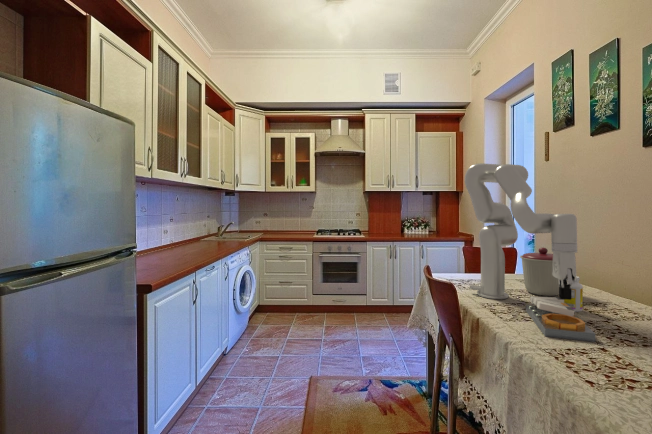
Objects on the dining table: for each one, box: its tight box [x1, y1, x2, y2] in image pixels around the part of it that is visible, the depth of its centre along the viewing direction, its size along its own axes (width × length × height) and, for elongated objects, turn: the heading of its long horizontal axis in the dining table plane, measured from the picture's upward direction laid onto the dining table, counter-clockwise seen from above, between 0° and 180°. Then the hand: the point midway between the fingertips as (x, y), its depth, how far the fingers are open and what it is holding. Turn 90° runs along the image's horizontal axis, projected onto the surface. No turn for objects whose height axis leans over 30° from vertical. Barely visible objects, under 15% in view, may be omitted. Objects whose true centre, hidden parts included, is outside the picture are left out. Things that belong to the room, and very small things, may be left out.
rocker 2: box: [533, 296, 569, 307], centre depth 116 cm, size 10×3×2 cm, turn 70°
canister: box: [519, 247, 559, 297], centre depth 150 cm, size 18×18×21 cm
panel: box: [525, 304, 596, 343], centre depth 110 cm, size 13×26×4 cm, turn 160°
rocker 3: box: [536, 301, 576, 317], centre depth 112 cm, size 10×3×2 cm, turn 70°
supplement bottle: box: [564, 275, 584, 313], centre depth 126 cm, size 7×7×13 cm
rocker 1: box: [529, 295, 564, 305], centre depth 121 cm, size 10×3×2 cm, turn 70°
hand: (565, 298), depth 118 cm, fingers closed
